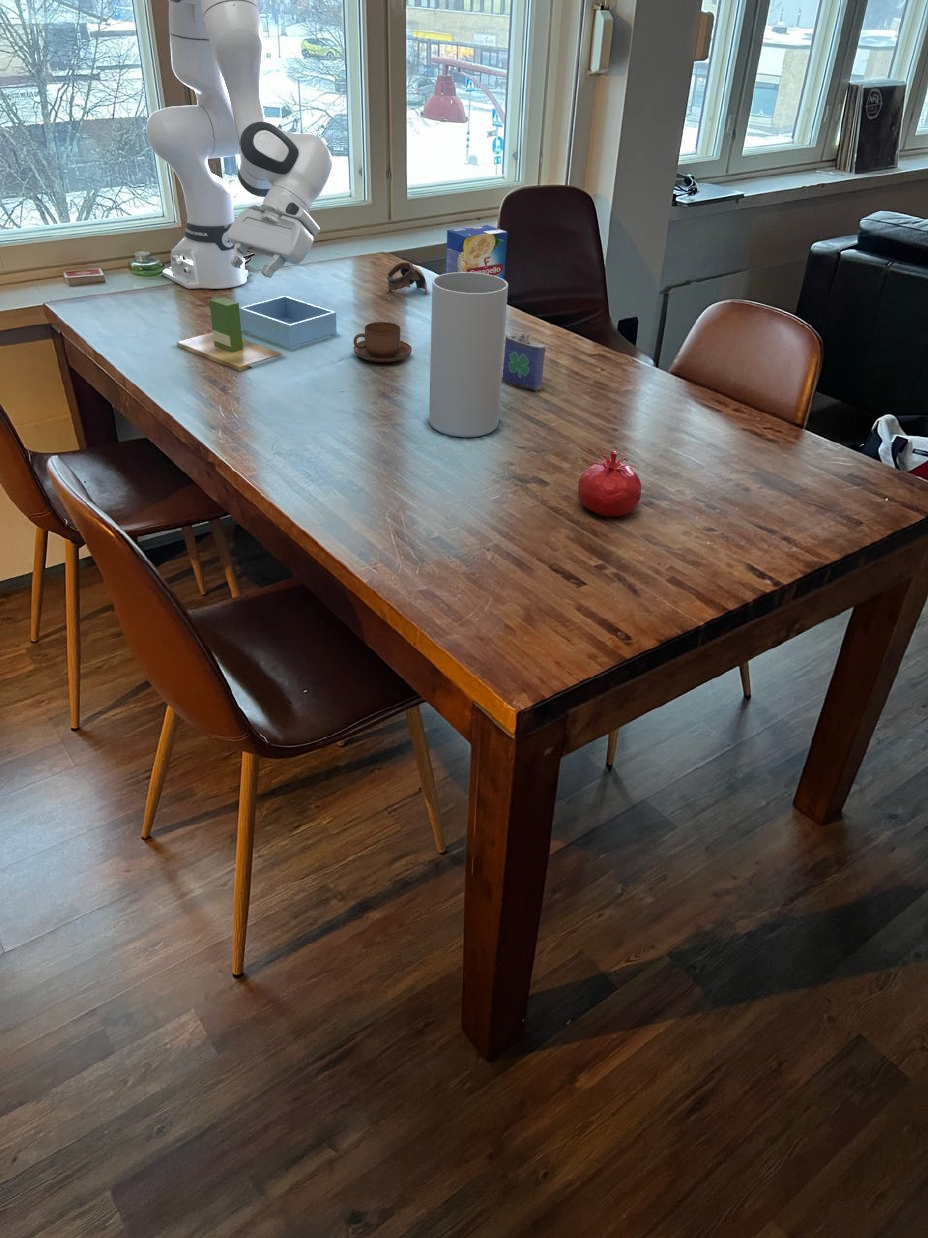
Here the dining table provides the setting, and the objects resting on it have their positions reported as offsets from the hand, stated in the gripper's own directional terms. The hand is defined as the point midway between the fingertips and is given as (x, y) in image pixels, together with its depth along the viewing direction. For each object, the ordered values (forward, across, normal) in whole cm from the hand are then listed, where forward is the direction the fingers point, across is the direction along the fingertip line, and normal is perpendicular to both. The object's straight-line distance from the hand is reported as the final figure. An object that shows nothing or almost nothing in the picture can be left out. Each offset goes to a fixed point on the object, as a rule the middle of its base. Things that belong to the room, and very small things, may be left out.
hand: (249, 270), depth 188 cm
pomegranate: (+18, +94, +3) cm, 96 cm away
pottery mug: (-26, -4, +48) cm, 55 cm away
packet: (+15, 0, +5) cm, 16 cm away
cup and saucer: (+1, +24, +20) cm, 32 cm away
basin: (+4, 0, +17) cm, 18 cm away
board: (+16, 0, +6) cm, 17 cm away
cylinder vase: (+12, +58, +10) cm, 60 cm away
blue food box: (-16, +28, +38) cm, 50 cm away
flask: (-4, +54, +26) cm, 60 cm away
